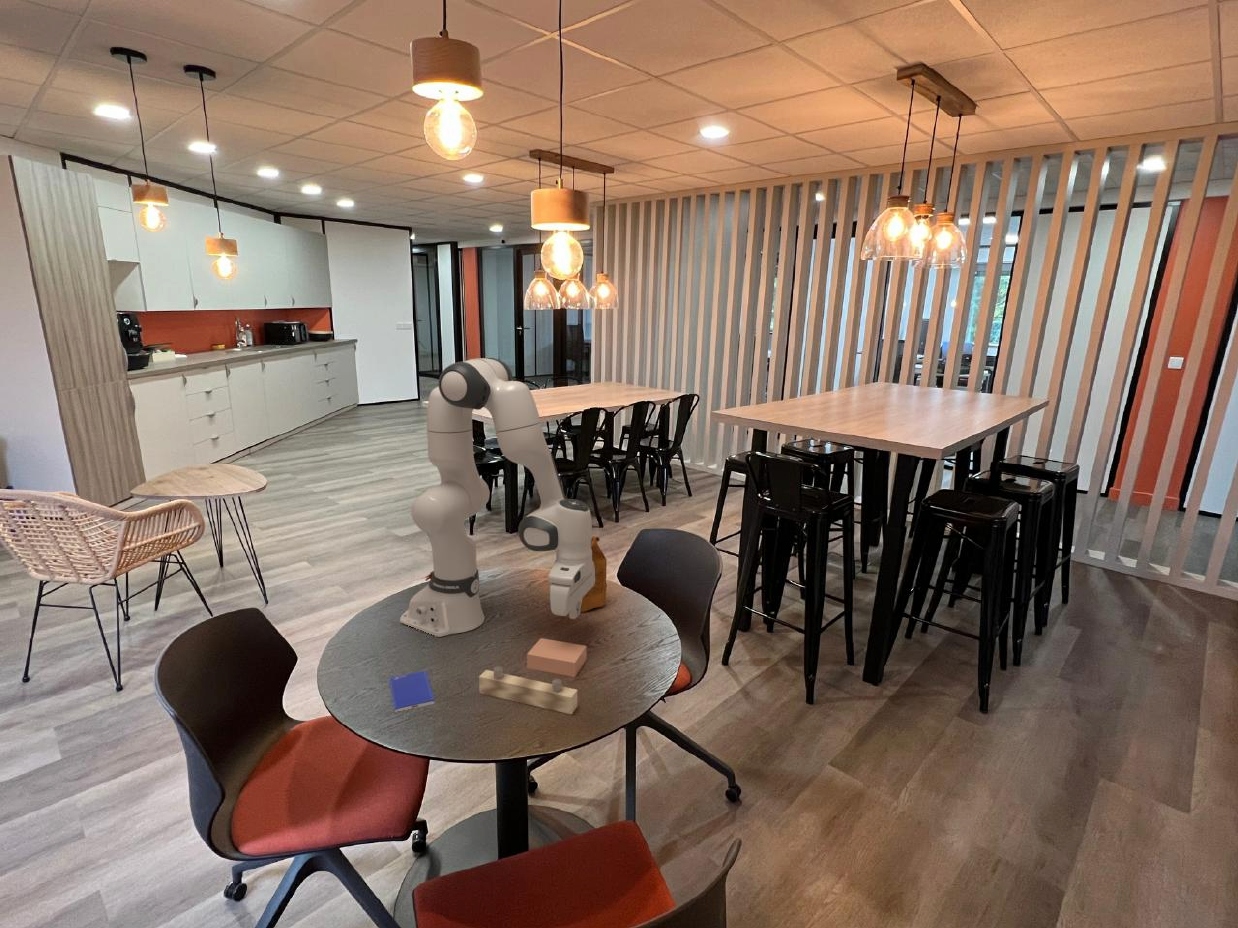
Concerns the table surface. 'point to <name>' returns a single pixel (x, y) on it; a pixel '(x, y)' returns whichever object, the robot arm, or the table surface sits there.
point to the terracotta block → (557, 657)
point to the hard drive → (411, 691)
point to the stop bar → (528, 691)
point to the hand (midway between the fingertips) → (574, 616)
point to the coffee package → (596, 579)
